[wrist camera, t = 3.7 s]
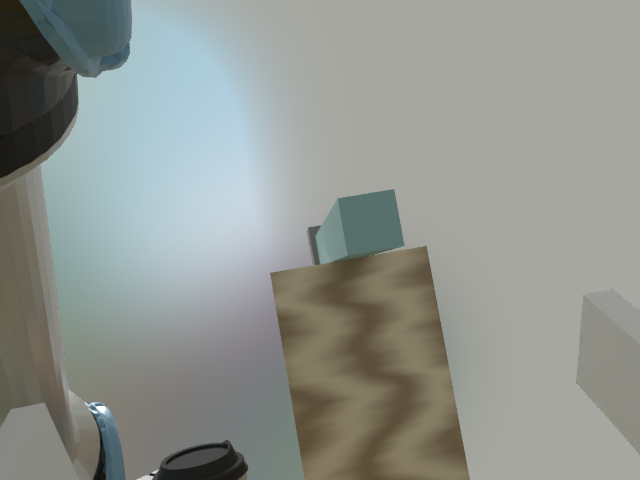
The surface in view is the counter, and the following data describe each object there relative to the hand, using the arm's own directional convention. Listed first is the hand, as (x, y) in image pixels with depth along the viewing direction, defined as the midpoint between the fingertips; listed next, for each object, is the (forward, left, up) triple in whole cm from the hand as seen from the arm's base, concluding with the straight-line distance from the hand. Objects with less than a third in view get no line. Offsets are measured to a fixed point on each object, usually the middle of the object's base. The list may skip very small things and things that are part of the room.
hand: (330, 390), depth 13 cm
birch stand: (+4, +36, -26) cm, 45 cm away
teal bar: (+4, +29, +4) cm, 30 cm away
